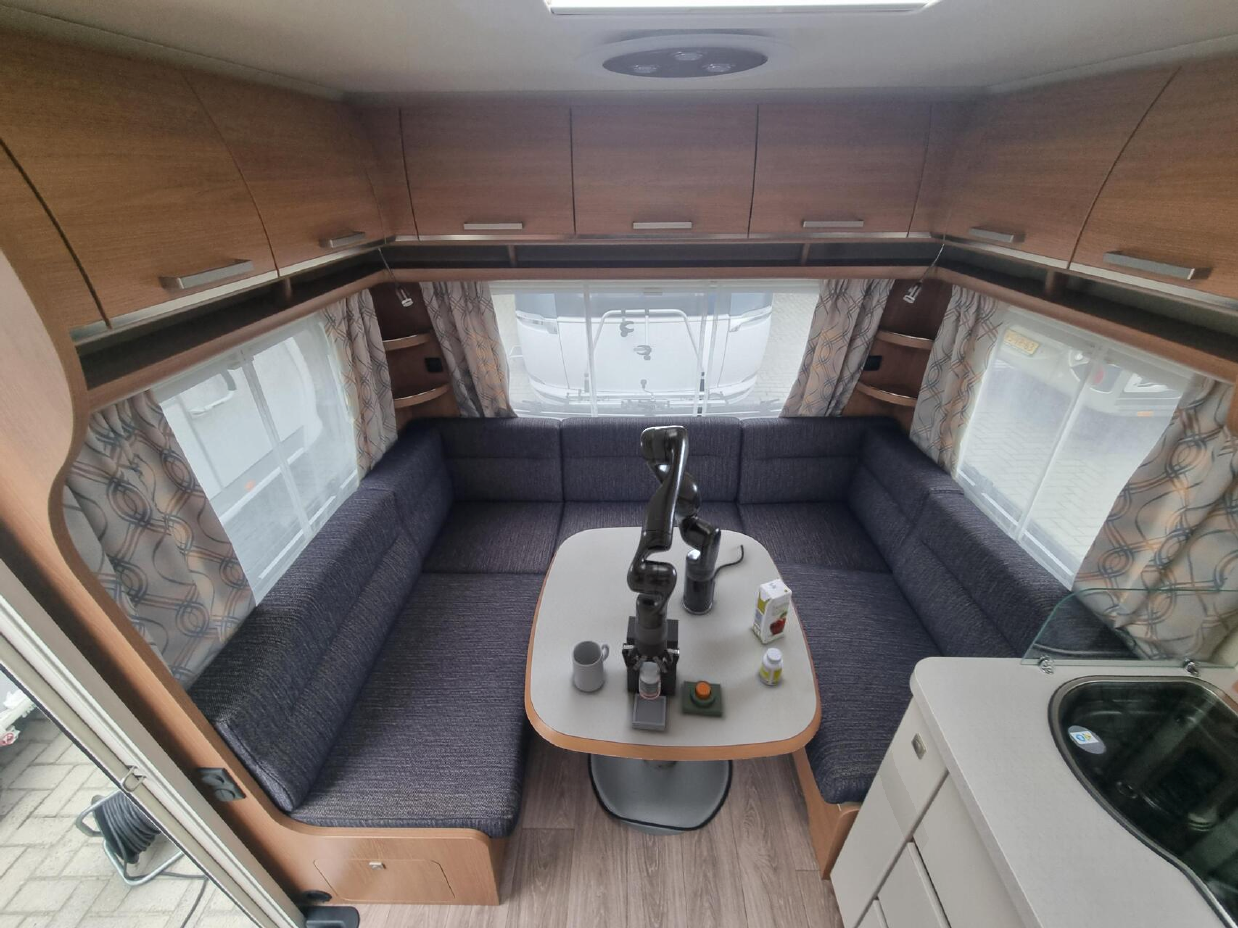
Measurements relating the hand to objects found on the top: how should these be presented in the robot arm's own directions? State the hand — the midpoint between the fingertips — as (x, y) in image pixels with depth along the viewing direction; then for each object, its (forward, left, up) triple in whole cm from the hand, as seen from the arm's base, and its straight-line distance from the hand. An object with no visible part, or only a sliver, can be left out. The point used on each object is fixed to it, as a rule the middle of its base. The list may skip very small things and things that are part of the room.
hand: (650, 676), depth 121 cm
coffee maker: (-3, -3, -15) cm, 16 cm away
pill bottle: (0, 0, -6) cm, 6 cm away
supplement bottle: (-33, +13, -16) cm, 39 cm away
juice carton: (-45, +3, -16) cm, 48 cm away
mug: (+5, -19, -16) cm, 25 cm away
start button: (-13, +6, -12) cm, 19 cm away
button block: (-13, +6, -15) cm, 21 cm away
